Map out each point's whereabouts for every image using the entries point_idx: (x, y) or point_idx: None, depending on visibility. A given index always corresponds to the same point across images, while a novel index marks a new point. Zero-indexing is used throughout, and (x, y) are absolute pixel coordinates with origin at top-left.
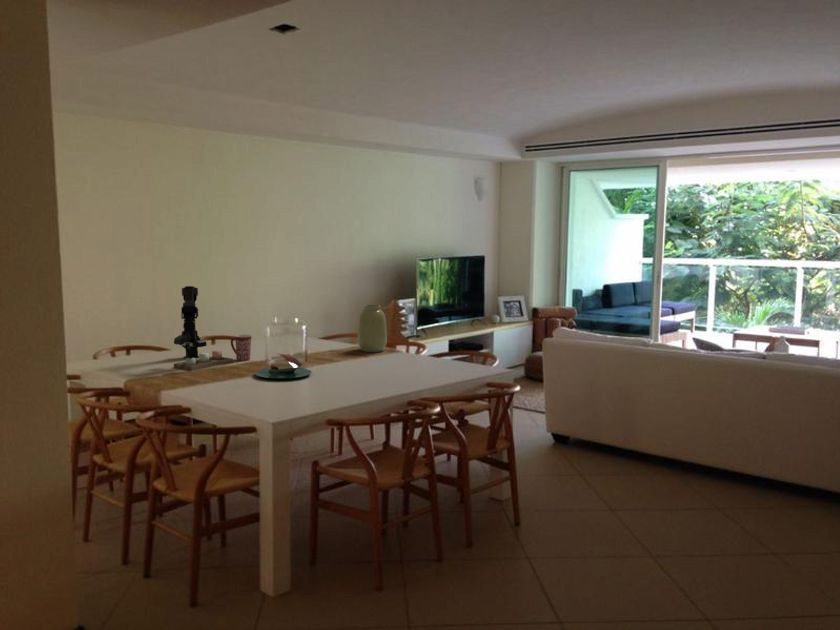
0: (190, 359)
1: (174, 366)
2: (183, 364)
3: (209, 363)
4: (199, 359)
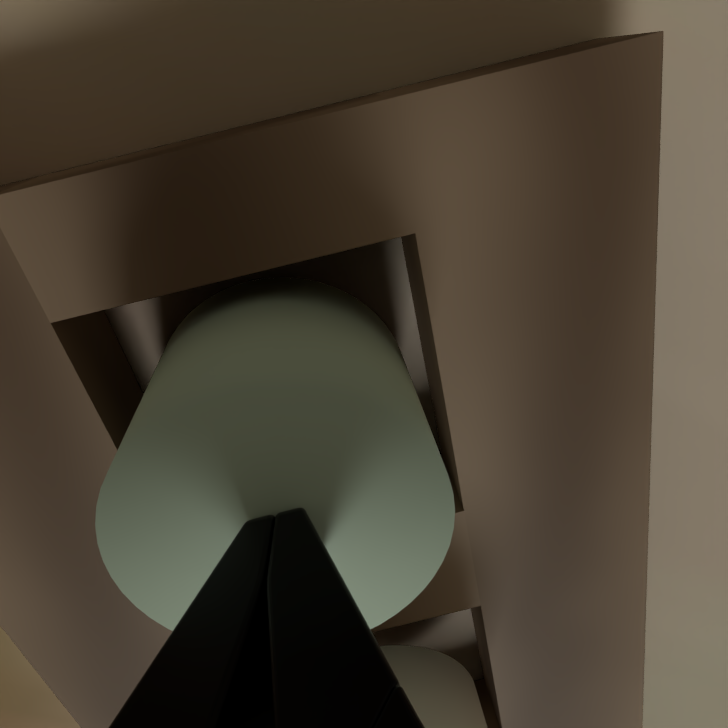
0: (110, 483)
1: (582, 44)
2: (311, 232)
3: (74, 716)
4: (405, 692)
